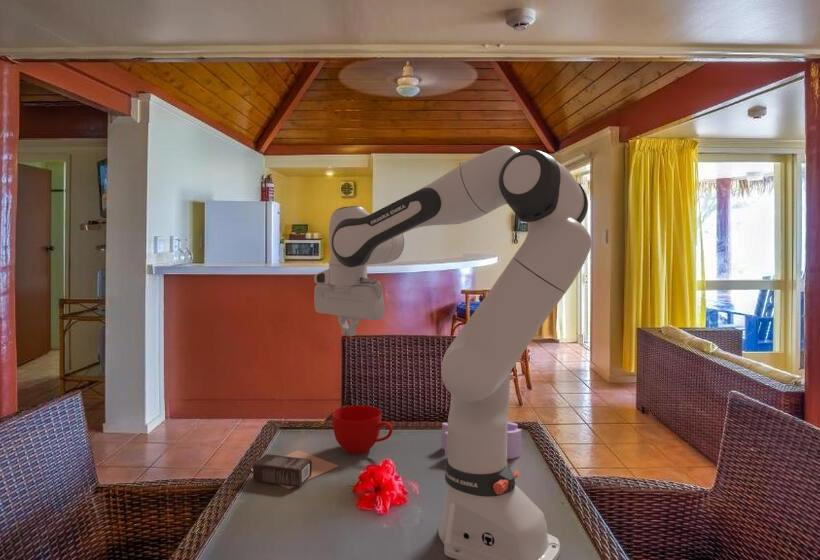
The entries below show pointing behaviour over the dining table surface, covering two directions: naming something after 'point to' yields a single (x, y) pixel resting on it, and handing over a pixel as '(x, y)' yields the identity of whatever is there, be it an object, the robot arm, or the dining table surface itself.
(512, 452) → the clip
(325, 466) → the mat
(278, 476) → the box
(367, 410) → the ceramic cup
